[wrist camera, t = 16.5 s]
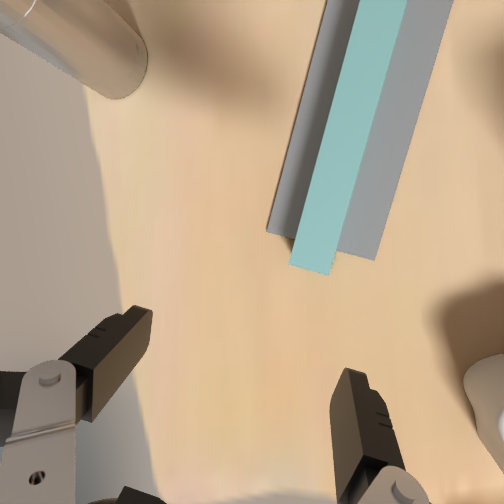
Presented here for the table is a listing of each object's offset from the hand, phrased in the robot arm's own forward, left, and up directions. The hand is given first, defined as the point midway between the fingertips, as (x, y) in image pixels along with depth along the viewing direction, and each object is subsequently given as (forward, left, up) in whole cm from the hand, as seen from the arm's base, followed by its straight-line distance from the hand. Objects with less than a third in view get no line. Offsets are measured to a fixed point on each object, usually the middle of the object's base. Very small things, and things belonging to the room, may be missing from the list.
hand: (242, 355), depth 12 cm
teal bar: (-1, +16, -23) cm, 28 cm away
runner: (-2, +19, -23) cm, 30 cm away
